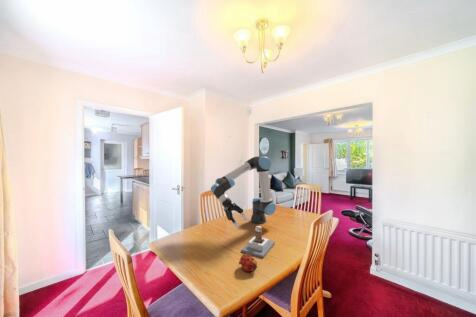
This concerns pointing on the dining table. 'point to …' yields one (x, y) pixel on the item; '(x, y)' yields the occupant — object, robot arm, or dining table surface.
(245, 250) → the socket board
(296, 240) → the dining table surface
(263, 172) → the robot arm
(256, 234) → the cream round-topped cylinder
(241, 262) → the dragon fruit
